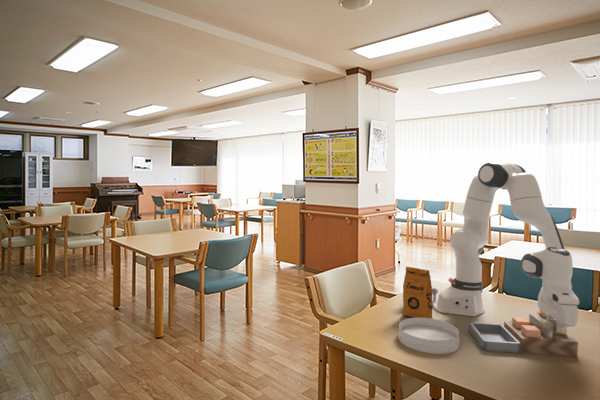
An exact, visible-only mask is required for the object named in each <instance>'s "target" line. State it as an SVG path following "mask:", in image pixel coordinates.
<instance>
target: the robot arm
mask: <svg viewBox="0 0 600 400" xmlns="http://www.w3.org/2000/svg"><path fill="white" fill-rule="evenodd" d="M499 189H501V190H506V191H507V192H508V195H509V196H508V197H509V201H510V208H511V211H512V213H513V216H514V217H515V218H516V219H517V220H519V221H521V222H523V223H525V224H527V225H530V226H532V227H534V228H536V229H537V230H538V231H539V233H540V234H541V238H542V240H543V243H544V245H545V249H544V250H539V251H536V252H529V253H525V254H524V255H523V256H522V257H521V261H520V268H521V271H522V272H523V273H524V274H525V275H526V276H527V277H529V278H533V279H538V278H540V279H542V287H540V291H539V292H538V297H537V308H538V309H539V308H540V309H541V310H542V311H544V312H545V313H547V316H546V318H547V319H546V320H556V323H557V324H556V326H555V329H554V330H555V331H557V332H562V327H563V326H567V328H568V327H570V328H571V327H572V328H574V327H576V326H577V324H578V319H579V317H578V316H579V315H578V314H579V308H578V305H580V299H579V297H578V296H577V295H576V294H575V292H574V291H573V289H572V288H573V284H572V281H571V280H572V276H573V257H572V254H571V253H570V251H568V250H567V249H565V247H564V244H563V240H562V237H561V234H560V232H559V229H558V226H557V224H556V221H555V219H554V216H553V215H552V214H551V213H550V212H549V211H548V210H547V208H546V206H545V204H544V202H543V196H542V191H541V189H540V185H539V183H538V181H537V178H536V177H535V175H533V174H532V173H528V172H526V170H525V168H523V166H520V165H519V164H515V163H514V164H513V163H509V162H496V161H490V162H486V163H484V164H483V165H481V166H480V168H479V170H478V172H477V175H475V176H474V177H473V179H472V180H471V182H470V184H469V188H468V190H467V193H466V198H465V202H464V206H463V211H462V215H463V219H464V221H463V222H464V223H463V227H462V228H459V229H456V230H455V231H454V232H453V233H452V234H451V235H450V237H449V243H450V246H451V248H452V250H453V253H454V258H455V278H453V277H449V278H448V282H449V283H450V286H448V287H447V288H446V289H444V290H442V291H441V292H440V293H438V298H437V300H436V301H434V302H433V301H432V302H433V308H434V310H435V311H437V312H439V313H442V314H451V315H459V316H467V317H477V316H478V315H481V314H484V313H485V309H484V304H483V295H482V293H483V289H484V288H483V287H484V284H483V281H482V279H483V278H482V276H483V271H482V270H483V264H482V262H481V260H480V255H479V249H482V248H483V247H484V246H486V244H487V243H488V242H489V221H490V220H489V219H490V214H491V210H492V205H493V202H494V198H495V195H496V192H497V191H498V190H499Z"/></svg>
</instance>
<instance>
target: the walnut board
mask: <svg viewBox="0 0 600 400" xmlns="http://www.w3.org/2000/svg"><path fill="white" fill-rule="evenodd" d="M503 326H504V327H505V328H506V329H507V330H508V331H509V332H510V333H511V334H512V335H513V336H514V337H515V338H516V339H517V340H518V341H519V342H520V343H521V344H522V349H521V353H525V354H526V353H527V354H540V355H541V354H542V355H543V354H544V355H556V356H557V355H558V356H569V357H578V352H579V351H578V350H579V349H578V348H579V342H578V341H577V340H576V339H575V338H573V337H572V336H570V335H569V334H568V333H567V334H554V333H552V339H547V338H546V337H545V336H543V335H542V334H541V335H540V338H537V337H526V336H525V335H524V334H523V333H522V332H521V328H517V327H515V326H514V325H513V324H512V321H503ZM530 326H531V325H530Z"/></svg>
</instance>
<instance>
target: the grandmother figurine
mask: <svg viewBox="0 0 600 400" xmlns="http://www.w3.org/2000/svg"><path fill="white" fill-rule="evenodd" d="M537 314H538V315H540V316H542V317H547V313H545V312H544V311H542V310H541V309H540V308H538V312H537Z"/></svg>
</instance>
